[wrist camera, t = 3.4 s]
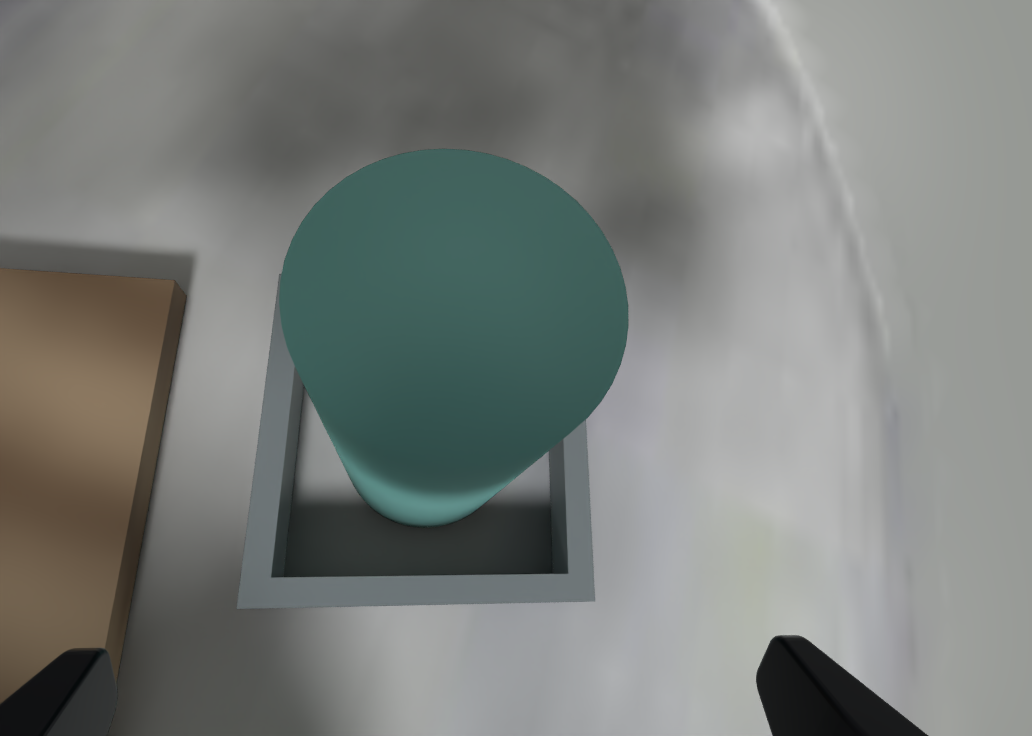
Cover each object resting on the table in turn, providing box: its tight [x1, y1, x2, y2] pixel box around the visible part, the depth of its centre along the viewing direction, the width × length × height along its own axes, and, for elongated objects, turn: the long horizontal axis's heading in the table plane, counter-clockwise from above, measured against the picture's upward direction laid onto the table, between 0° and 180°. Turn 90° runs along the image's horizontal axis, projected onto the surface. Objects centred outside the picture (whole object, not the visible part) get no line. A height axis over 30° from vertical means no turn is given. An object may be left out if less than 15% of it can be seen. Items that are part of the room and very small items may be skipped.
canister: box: [279, 149, 628, 528], centre depth 15 cm, size 6×6×12 cm
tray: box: [236, 274, 595, 609], centre depth 20 cm, size 10×10×2 cm
